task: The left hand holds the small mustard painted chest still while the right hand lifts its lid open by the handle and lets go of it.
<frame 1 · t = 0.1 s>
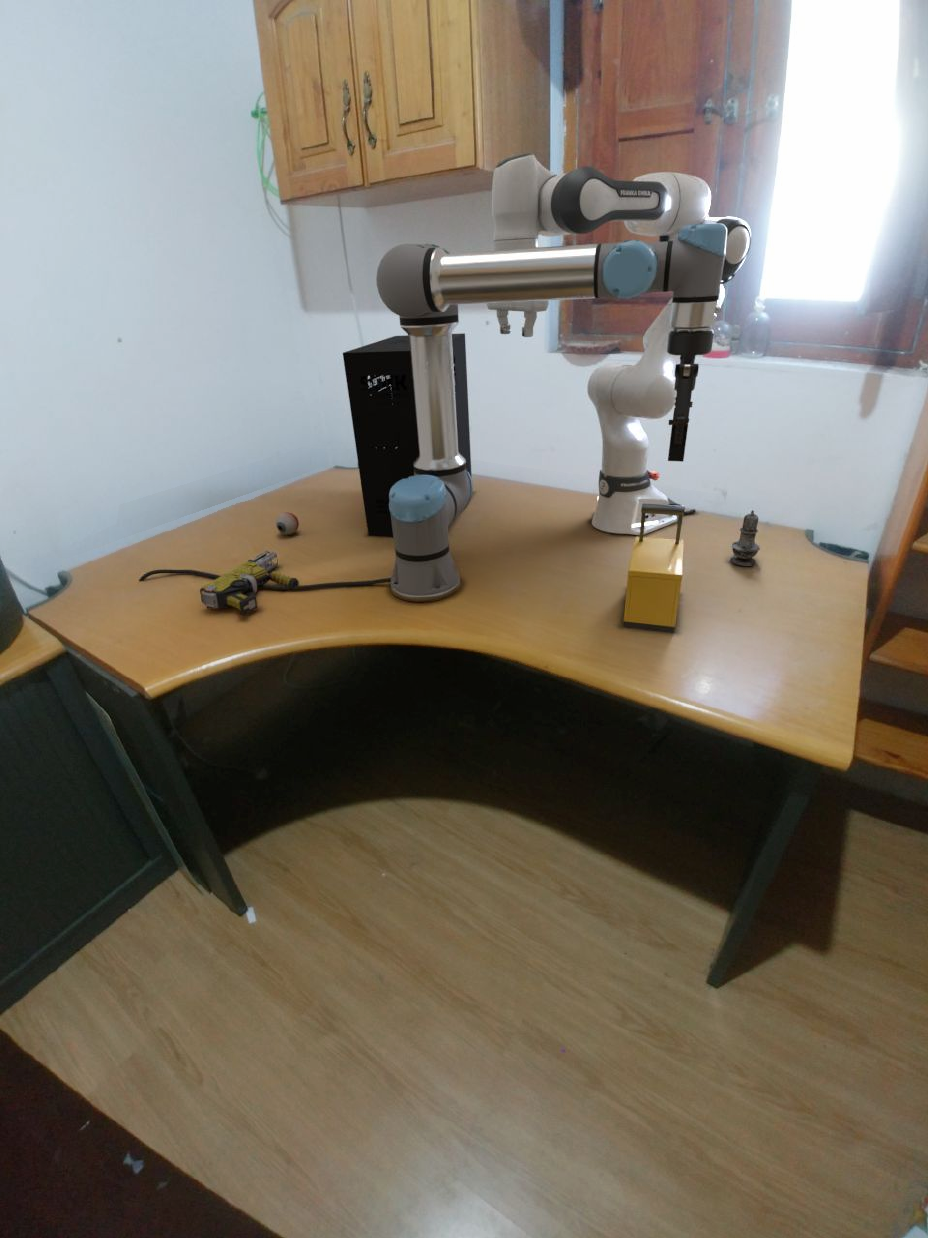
left hand: (676, 451, 116), 28 cm above the table, tool pointing down, fingers open, 13 cm apart
right hand: (516, 335, 125), 48 cm above the table, tool pointing down, fingers open, 8 cm apart
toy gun: (263, 591, 136), on the table
cardboard box: (424, 512, 175), on the table
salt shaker: (742, 561, 136), on the table
eyeball: (289, 534, 165), on the table
lid: (659, 538, 112), point 15 cm above the table, hinge at 0.0°
chest: (650, 610, 120), on the table
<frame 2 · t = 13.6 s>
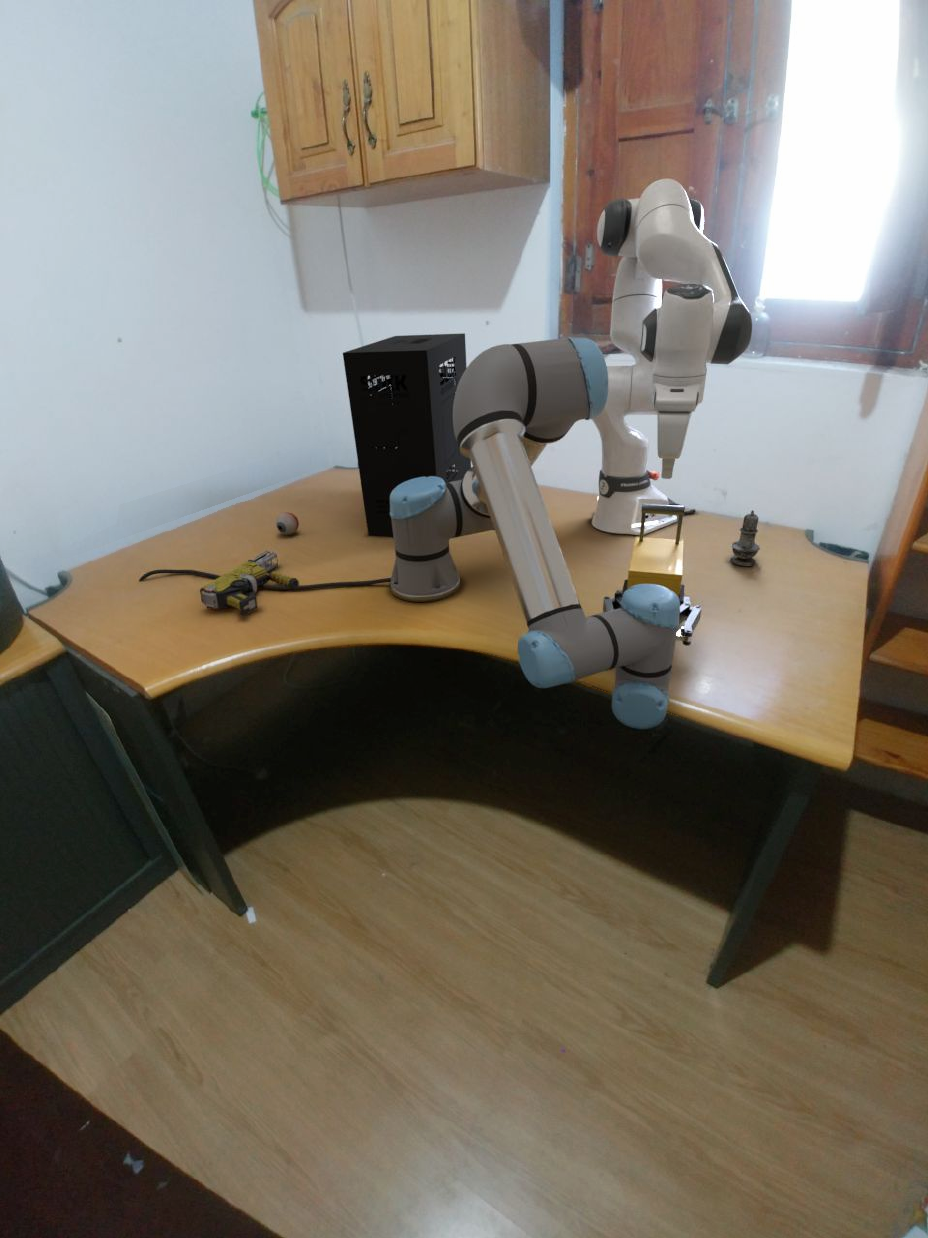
left hand: (653, 588, 113), 7 cm above the table, tool horizontal, fingers closed on chest, 9 cm apart
right hand: (667, 469, 112), 26 cm above the table, tool pointing down, fingers open, 8 cm apart
chest: (650, 610, 120), on the table, touching left hand
everything else where it was.
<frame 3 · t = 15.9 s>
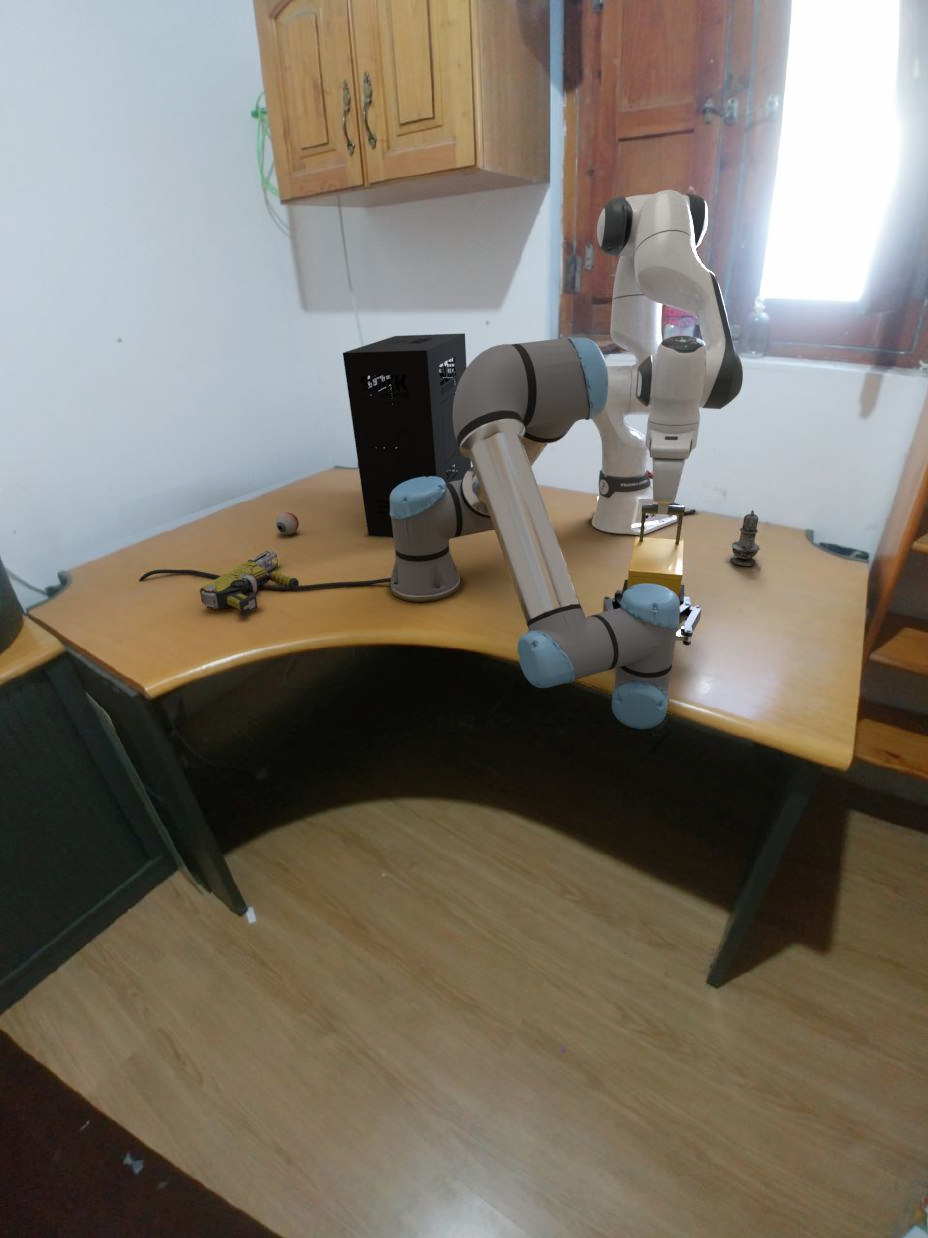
left hand: (653, 588, 113), 7 cm above the table, tool horizontal, fingers closed on chest, 9 cm apart
right hand: (662, 509, 115), 19 cm above the table, tool pointing down, fingers closed on lid, 2 cm apart
lid: (659, 538, 112), point 15 cm above the table, hinge at 0.0°, touching right hand
chest: (650, 610, 119), on the table, touching left hand
everything else where it was.
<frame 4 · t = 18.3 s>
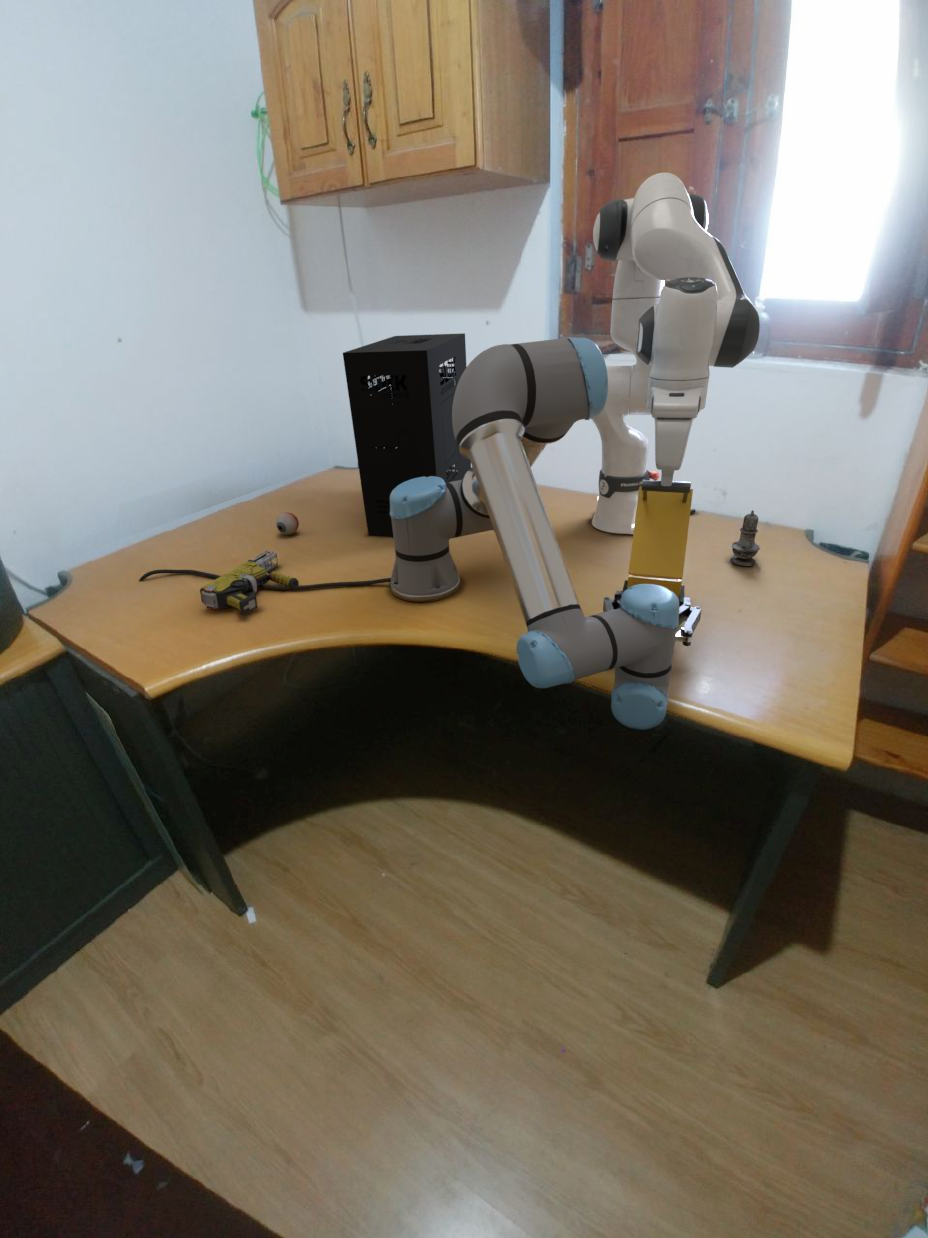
left hand: (653, 589, 113), 7 cm above the table, tool horizontal, fingers closed on chest, 9 cm apart
right hand: (666, 482, 101), 28 cm above the table, tool pointing down, fingers closed, pressing on lid
lid: (661, 526, 105), point 20 cm above the table, hinge at 52.2°, touching right hand
chest: (651, 610, 119), on the table, touching left hand
everything else where it was.
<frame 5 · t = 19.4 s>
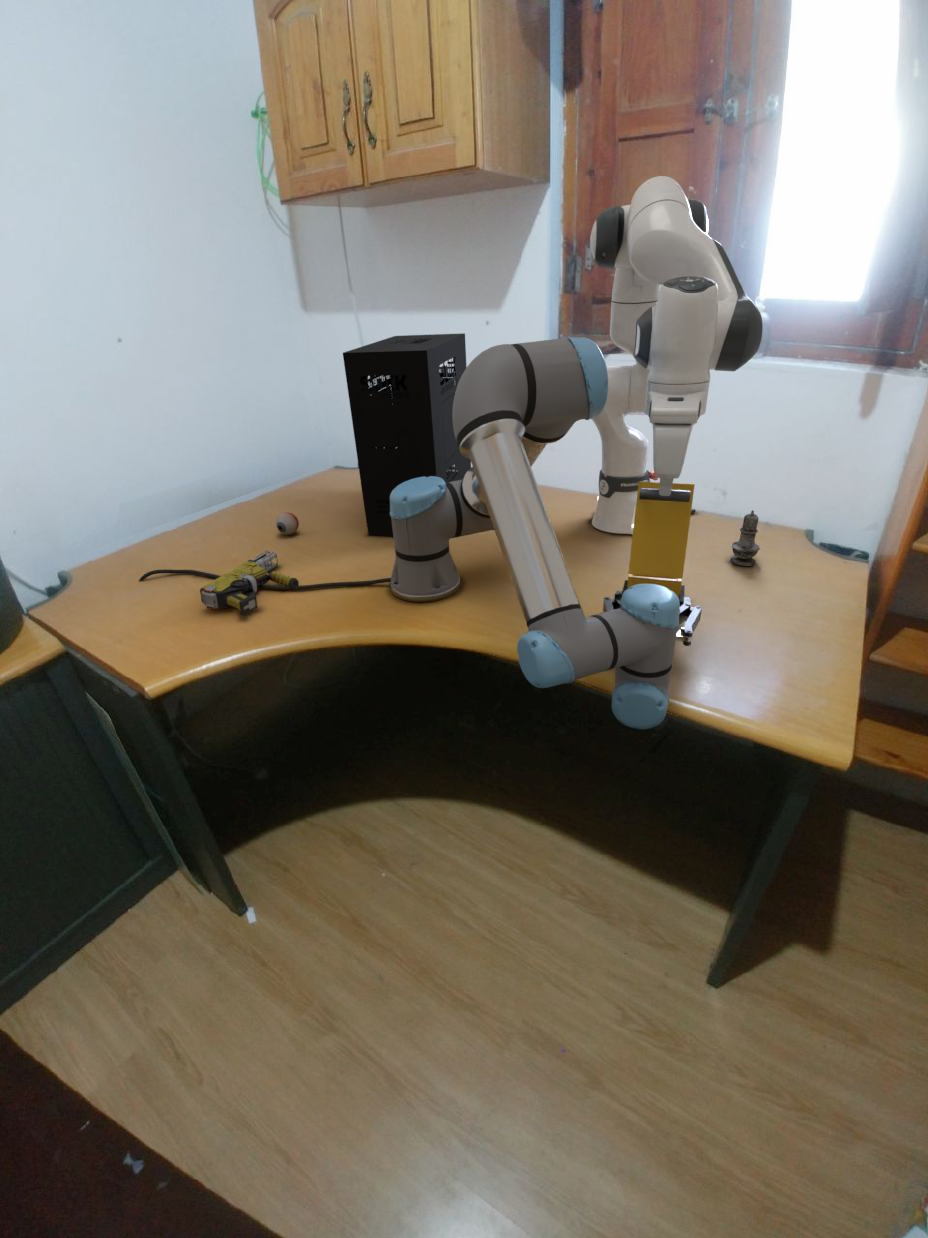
left hand: (653, 589, 113), 7 cm above the table, tool horizontal, fingers closed on chest, 9 cm apart
right hand: (665, 491, 97), 28 cm above the table, tool pointing down, fingers closed
lid: (660, 530, 102), point 20 cm above the table, hinge at 70.1°, touching right hand
chest: (651, 610, 119), on the table, touching left hand
everything else where it was.
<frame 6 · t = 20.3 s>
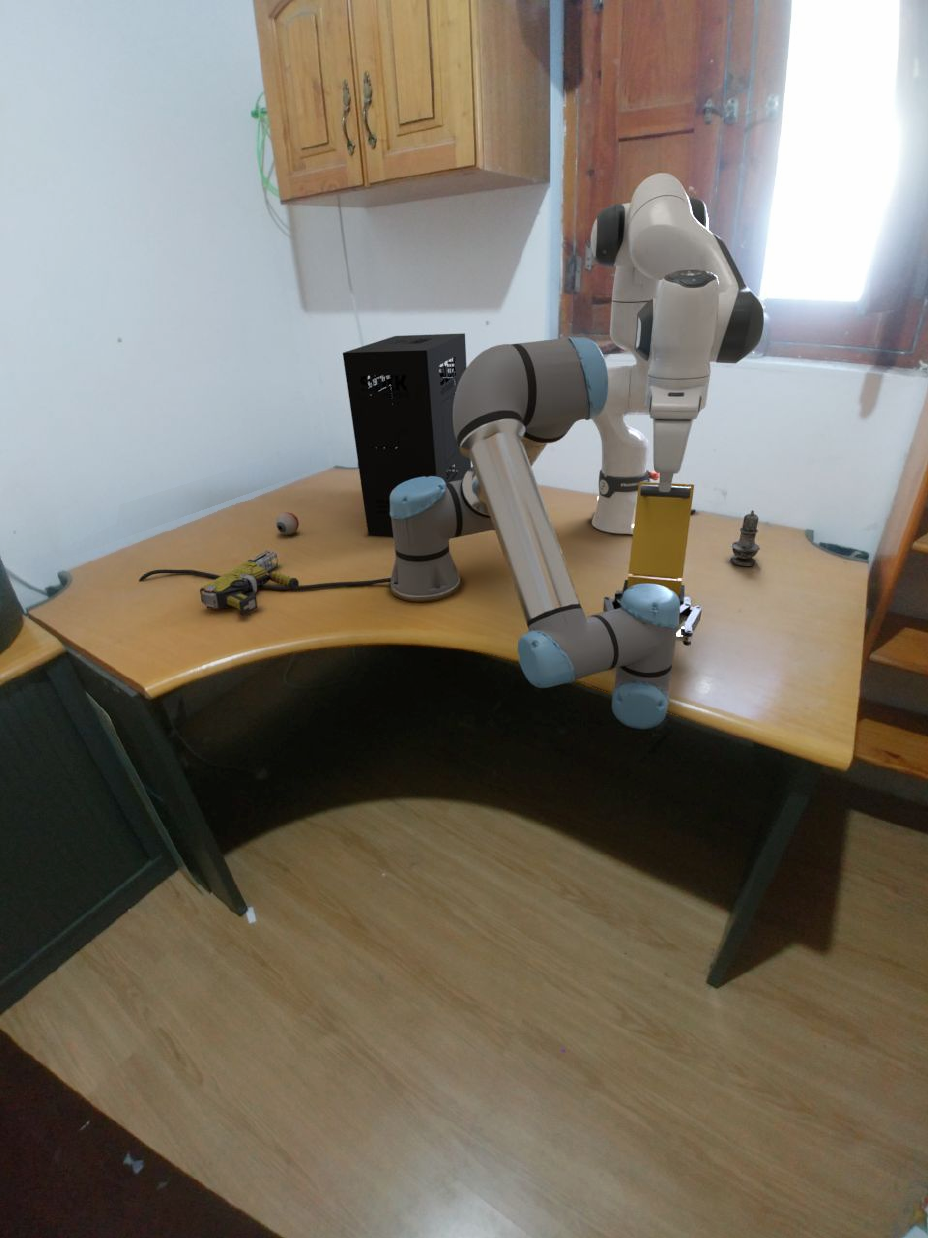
left hand: (653, 588, 113), 7 cm above the table, tool horizontal, fingers closed on chest, 9 cm apart
right hand: (665, 484, 98), 28 cm above the table, tool pointing down, fingers open, 5 cm apart
lid: (660, 528, 103), point 20 cm above the table, hinge at 65.2°
chest: (651, 610, 119), on the table, touching left hand
everything else where it was.
when the left hand's fingers open (7 cm above the table, at t = 23.4 s): chest stays where it is, on the table.
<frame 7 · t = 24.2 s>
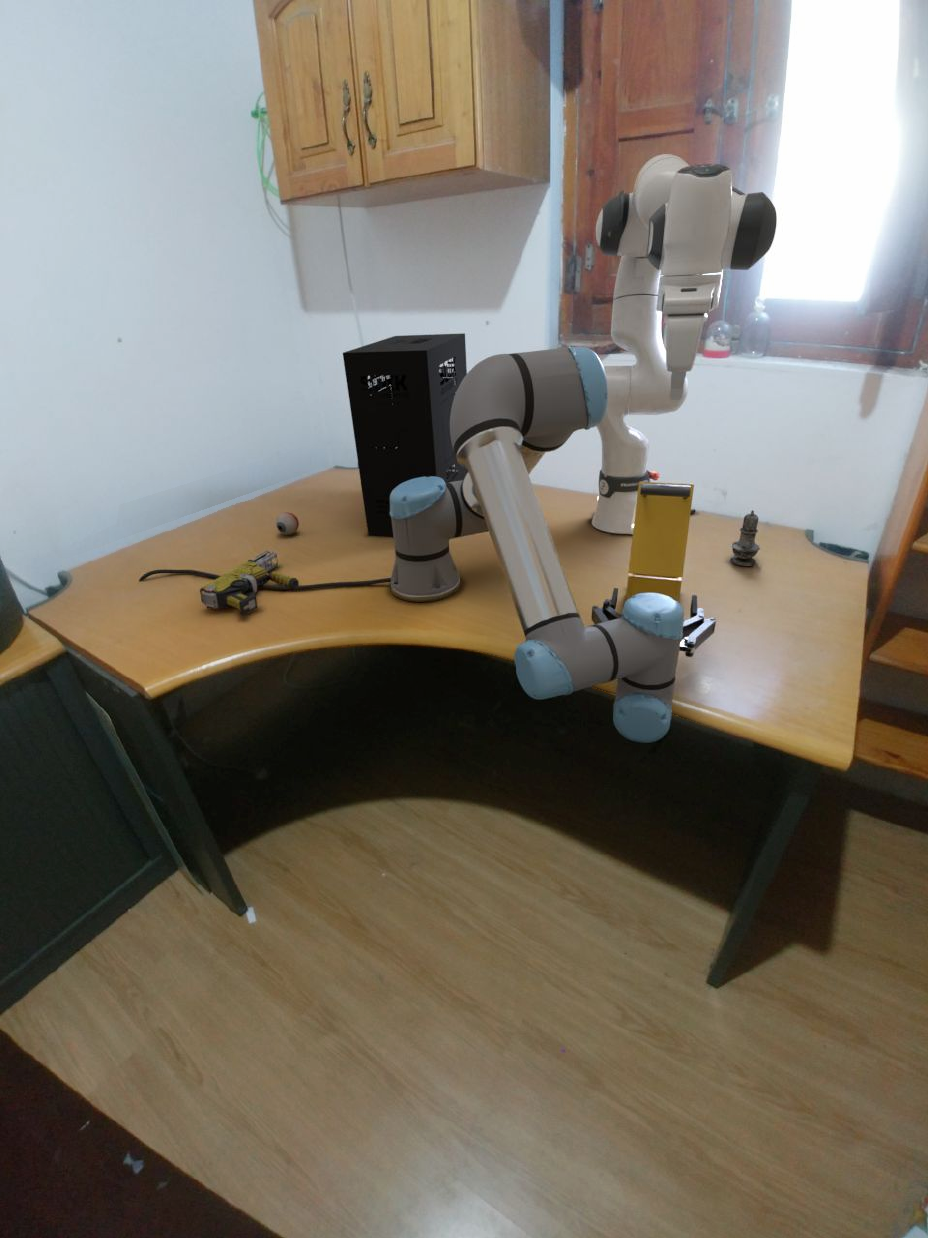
left hand: (653, 598, 109), 7 cm above the table, tool horizontal, fingers open, 13 cm apart
right hand: (676, 393, 98), 41 cm above the table, tool pointing down, fingers open, 8 cm apart
lid: (660, 527, 103), point 20 cm above the table, hinge at 64.1°
chest: (651, 609, 120), on the table
everything else where it was.
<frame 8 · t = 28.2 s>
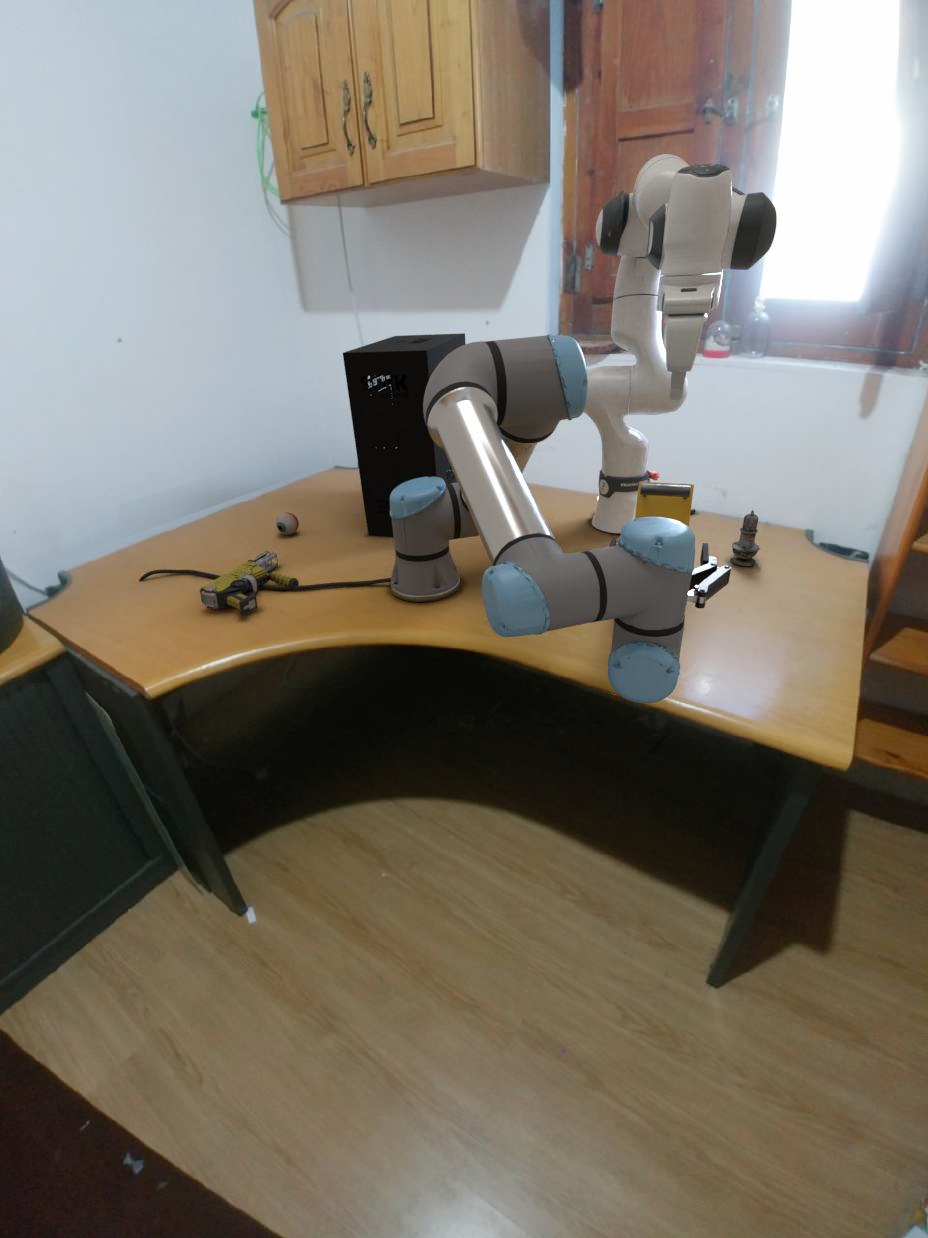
left hand: (657, 547, 94), 21 cm above the table, tool horizontal, fingers open, 13 cm apart
right hand: (676, 393, 98), 41 cm above the table, tool pointing down, fingers open, 8 cm apart
nothing on the table moved.
at the end: lid at +64° (first picture: +0°); the left hand is holding nothing; the right hand is holding nothing; chest tilted 0°; chest never tilted more than 1° during the clip; chest moved 0.1 cm from its start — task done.
